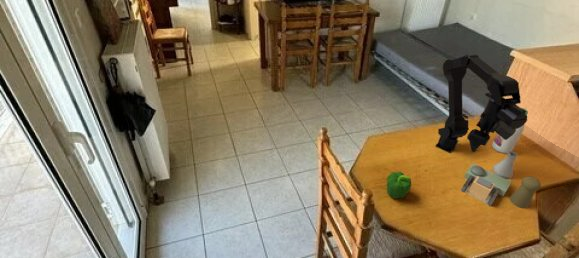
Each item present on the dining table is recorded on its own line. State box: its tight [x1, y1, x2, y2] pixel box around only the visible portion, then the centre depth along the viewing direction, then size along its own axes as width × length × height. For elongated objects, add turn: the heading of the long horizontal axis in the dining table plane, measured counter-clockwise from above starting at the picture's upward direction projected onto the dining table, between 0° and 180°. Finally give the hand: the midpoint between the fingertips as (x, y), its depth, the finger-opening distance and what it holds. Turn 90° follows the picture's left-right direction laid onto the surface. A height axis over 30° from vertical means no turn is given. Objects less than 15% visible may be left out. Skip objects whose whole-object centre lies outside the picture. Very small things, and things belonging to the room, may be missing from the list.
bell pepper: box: [386, 171, 412, 199], centre depth 114 cm, size 8×8×10 cm
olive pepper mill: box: [509, 176, 542, 209], centre depth 110 cm, size 6×6×11 cm
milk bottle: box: [491, 107, 529, 155], centre depth 131 cm, size 8×8×20 cm
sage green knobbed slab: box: [463, 163, 512, 197], centre depth 120 cm, size 14×7×4 cm, turn 46°
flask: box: [492, 150, 519, 179], centre depth 122 cm, size 7×7×10 cm
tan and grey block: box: [468, 176, 495, 200], centre depth 115 cm, size 6×4×6 cm
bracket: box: [460, 175, 500, 207], centre depth 116 cm, size 10×8×2 cm
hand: (477, 146), depth 120 cm, fingers open, 9 cm apart
